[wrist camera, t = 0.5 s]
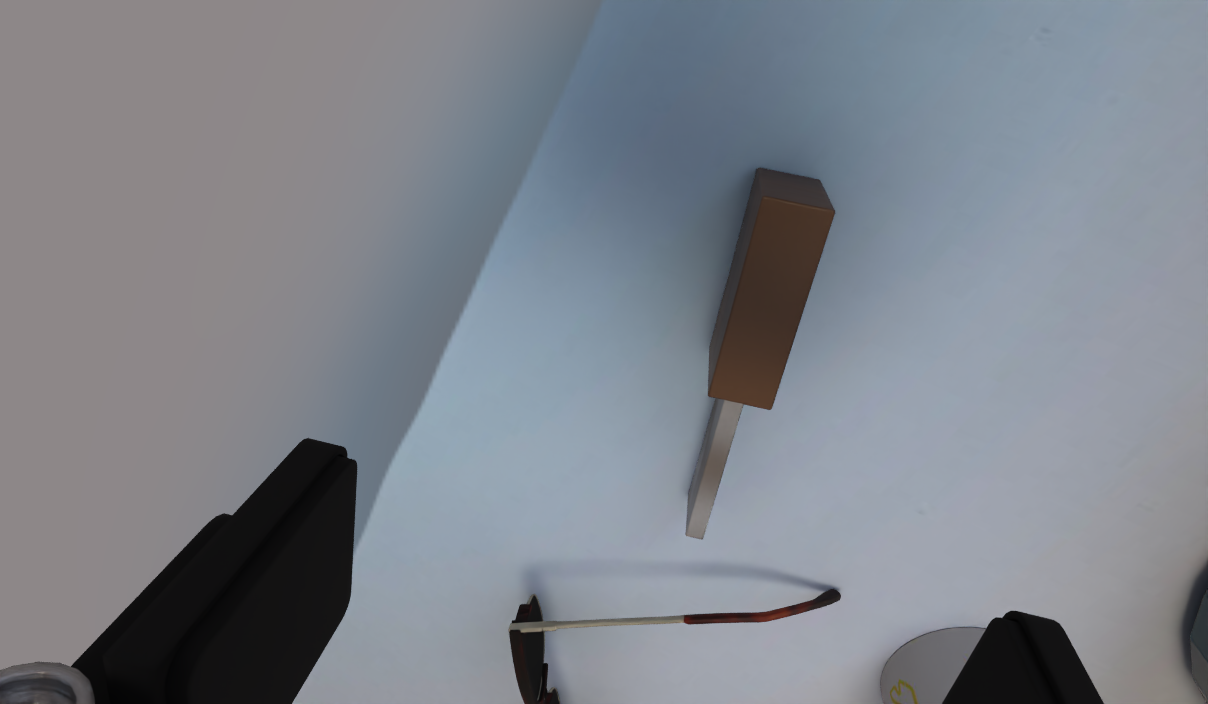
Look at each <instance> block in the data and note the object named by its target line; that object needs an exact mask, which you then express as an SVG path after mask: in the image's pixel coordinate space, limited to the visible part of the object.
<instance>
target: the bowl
mask: <svg viewBox="0 0 1208 704" xmlns="http://www.w3.org/2000/svg"><path fill="white" fill-rule="evenodd" d="M1190 648H1191V662H1192V676H1193V679H1194V680H1195V682H1196V684H1197V686H1198V688H1199V690H1200V692H1201V694H1202V695H1203V697H1204V699H1205V701H1206V703H1207V704H1208V589H1207V590H1206V591H1205V594H1204V596H1203V599H1202V601H1201V604H1200V607H1199V610H1198V613H1197V616H1196V619H1195V622H1194V625H1193V628H1192V631H1191V634H1190Z"/></svg>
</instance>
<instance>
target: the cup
mask: <svg viewBox="0 0 1208 704" xmlns="http://www.w3.org/2000/svg"><path fill="white" fill-rule="evenodd" d="M985 630H986V629H982V628H967V627H966V628H951V629H944V630H939V631H935V632H932V633H928V634H926V635H923V636H920V637H918V638H916V639H914V640H912V641H910V642H909V643H907V644H905V645H904V646H903V647H901V648H900V649H899V650H898V651H897V652H896V653H895V654H894V655H893V656H892V657H891V658H890V659H889V661H888V662H887V664H886V665H885V667H884V670H883V672H882V676H881V683H880V685H881V693H882V698H883V702H884V704H942V702H943V701H944V699H945V697H946V696H947V694H948V692H949V691H950V689H951V687H952V686H953V684H954V682H955V680H956V679H957V677H958V675H959V674H960V672H961V670H962V669H963V667H964V665H965V664H966V662H967V660H968V659H969V657H970V655H971V653H972V652H973V650H974V648H975V647H976V645H977V643H978V642H979V640H980V638H981V637H982V635H983V633H984V632H985Z"/></svg>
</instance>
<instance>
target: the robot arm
mask: <svg viewBox="0 0 1208 704" xmlns="http://www.w3.org/2000/svg"><path fill="white" fill-rule="evenodd" d="M356 482H357V463H356V461H355V460H352V459H349V458H347V451H346V449H345V448H344V447H342V446H338V445H334V444H330V443H326V442H322V441H317V440H313V439H309V438H307V439H304V440H302V441H301V442H300V443H299V444H298V445H297V446H296V447H295V448H294V449H293V450H292V452H291V453H290V454H289V455H288V456H287V457H286V458H285V459H284V460H283V461H282V462H281V463H280V465H279V466H278V467H277V468H276V469H275V470H274V471H273V472H272V473H271V474H270V475H269V476H268V477H267V479H266V480H265V481H264V482H263V483H262V484H261V485H260V486H259V487H258V488H257V489H256V490H255V492H254V493H253V494H252V495H251V496H250V497H249V498H248V499H247V500H246V501H245V502H244V503H243V504H242V506H241V507H240V508H239V509H238V510H237V511H236V512H235V513H234V514H233V515H228V514H221V515H219V516H216V517H215V518H214V519H212V520H211V521H210V522H209V523H208V524H207V525H206V526H205V527H204V528H203V529H202V530H201V531H200V532H199V533H198V534H197V535H196V536H195V537H194V538H193V539H192V540H191V541H190V542H189V544H187V546H186V547H185V548H184V549H183V550H182V551H181V552H180V553H179V554H178V555H177V556H176V557H175V558H174V559H173V560H172V561H171V562H170V563H169V564H168V565H167V566H166V567H165V569H164V570H163V571H162V572H161V573H160V574H159V575H158V576H157V577H156V578H155V579H154V580H153V581H152V582H151V583H150V584H149V585H148V586H147V587H146V588H145V589H144V590H143V592H142V593H141V594H140V595H139V596H138V597H137V598H136V599H135V600H134V601H133V602H132V603H131V604H130V605H129V606H128V607H127V608H126V609H125V610H124V611H123V612H122V613H121V614H120V615H119V617H118V618H117V619H116V620H115V621H114V622H113V623H112V624H111V625H110V626H109V627H108V628H107V629H106V630H105V631H104V632H103V633H102V634H101V635H100V636H99V637H98V638H97V640H96V641H95V642H94V643H93V644H92V645H91V646H90V647H89V648H88V649H87V650H86V651H85V652H84V653H83V654H82V655H81V656H80V657H79V659H77V660H76V661H75V662H74V664H73V665H72V666H71V667H70V666H67V665H64V664H61V663H50V662H34V663H28V664H22V665H16V666H11V667H8V668H6V669H3V670H0V704H292V702H293V701H294V699H295V697H296V696H297V694H298V692H299V691H300V689H301V687H302V686H303V684H304V682H305V681H306V679H307V677H308V676H309V674H310V672H311V671H312V669H313V667H314V666H315V664H316V662H317V661H318V659H319V657H320V656H321V654H322V652H323V651H324V649H325V647H326V646H327V644H328V642H329V641H330V639H331V637H332V636H333V634H334V632H335V631H336V629H337V627H338V626H339V624H340V622H341V620H342V619H343V617H344V615H345V612H346V610H347V607H348V604H349V601H350V597H351V584H352V564H353V544H354V543H353V542H354V524H355V522H354V521H355V504H356V502H355V501H356ZM942 704H1104V703H1103V701H1102V699H1101V697H1100V696H1099V694H1098V692H1097V690H1096V688H1095V686H1094V685H1093V683H1092V681H1091V679H1090V677H1089V675H1088V673H1087V672H1086V670H1085V668H1084V666H1083V664H1082V662H1081V661H1080V659H1079V657H1078V655H1077V653H1076V651H1075V649H1074V648H1073V646H1072V644H1071V642H1070V640H1069V638H1068V636H1067V635H1066V633H1065V631H1064V629H1063V628H1062V627H1061V625H1060V624H1059V623H1058V622H1056V621H1054V620H1051V619H1047V618H1043V617H1039V616H1035V615H1031V614H1027V613H1023V612H1018V611H1010V612H1008V613H1006V614H1005V615H1004V617H1003V618H994V619H993V620H992V621H991V622H990V623H989V625H988V626H987V628H986V630H985V632H984V633H983V635H982V637H981V638H980V640H979V642H978V643H977V645H976V647H975V648H974V650H973V652H972V653H971V655H970V657H969V659H968V660H967V662H966V664H965V665H964V667H963V669H962V670H961V672H960V674H959V675H958V677H957V679H956V680H955V682H954V684H953V686H952V687H951V689H950V691H949V692H948V694H947V696H946V697H945V699H944V701H943V702H942Z"/></svg>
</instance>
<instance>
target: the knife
mask: <svg viewBox="0 0 1208 704" xmlns="http://www.w3.org/2000/svg"><path fill="white" fill-rule="evenodd" d="M834 215H835V210H834V208H833V206H832V204H831V202H830V199H829V197H828V195H827V193H826V191H825V189H824V187H823V185H822V183H821V181H820V180H818V179H813V178H809V177H804V176H799V175H794V174H789V173H784V172H779V171H774V170H769V169H764V168H757V169H756V173H755V177H754V181H753V184H752V188H751V192H750V196H749V199H748V203H747V207H746V211H745V214H744V218H743V222H742V226H741V230H740V233H739V237H738V241H737V245H736V248H735V252H734V256H733V260H732V263H731V267H730V271H729V275H728V279H727V282H726V286H725V290H724V294H723V297H722V301H721V305H720V309H719V312H718V316H717V320H716V324H715V327H714V331H713V335H712V339H711V343H710V346H709V374H708V396H709V397H713V398H715V401H714V405H713V408H712V412H711V415H710V419H709V422H708V426H707V430H706V433H705V437H704V440H703V444H702V448H701V451H700V455H699V458H698V462H697V465H696V469H695V473H694V476H693V480H692V483H691V487H690V490H689V494H688V505H687V520H686V536H689V537H693V538H698V539H703V537H704V534H705V530H706V527H707V524H708V520H709V517H710V514H711V510H712V507H713V504H714V500H715V497H716V494H717V491H718V487H719V484H720V481H721V477H722V474H723V471H724V467H725V464H726V461H727V457H728V454H729V451H730V447H731V444H732V441H733V437H734V434H735V431H736V427H737V424H738V421H739V418H740V414H741V411H742V408H743V404H745V405H750V406H754V407H759V408H763V409H768V410H771V409H772V406H773V403H774V400H775V397H776V394H777V391H778V388H779V385H780V382H781V378H782V375H783V372H784V369H785V366H786V363H787V360H788V357H789V354H790V351H791V348H792V344H793V341H794V338H795V335H796V332H797V329H798V326H799V323H800V320H801V317H802V314H803V310H804V307H805V304H806V301H807V298H808V295H809V292H810V289H811V286H812V283H813V279H814V276H815V273H816V270H817V267H818V264H819V261H820V258H821V255H822V252H823V249H824V245H825V242H826V239H827V236H828V233H829V230H830V227H831V224H832V221H833V218H834Z"/></svg>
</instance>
